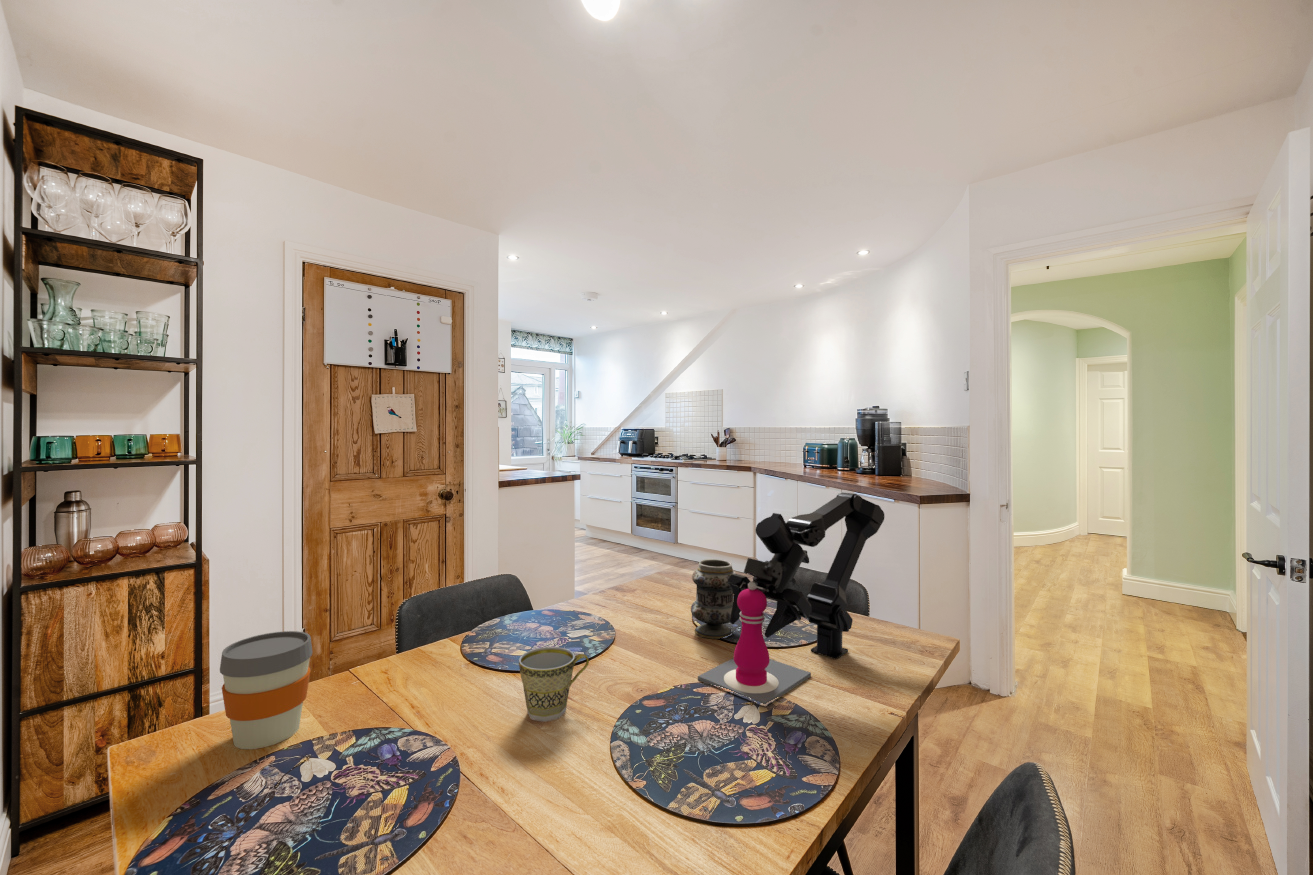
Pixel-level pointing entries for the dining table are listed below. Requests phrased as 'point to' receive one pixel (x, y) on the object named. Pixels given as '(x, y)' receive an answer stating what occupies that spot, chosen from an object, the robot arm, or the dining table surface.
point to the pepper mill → (751, 638)
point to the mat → (776, 685)
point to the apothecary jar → (713, 598)
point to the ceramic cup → (548, 680)
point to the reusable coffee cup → (265, 686)
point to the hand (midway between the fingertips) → (748, 629)
